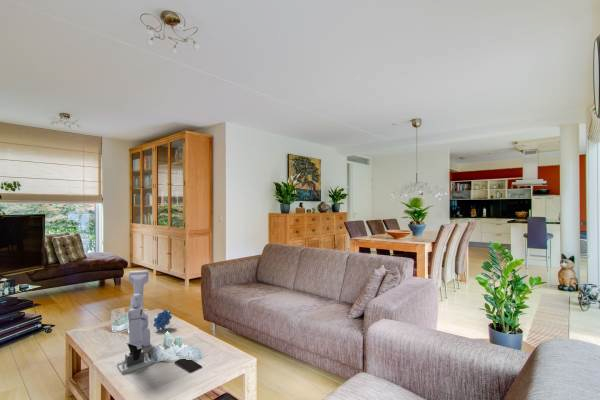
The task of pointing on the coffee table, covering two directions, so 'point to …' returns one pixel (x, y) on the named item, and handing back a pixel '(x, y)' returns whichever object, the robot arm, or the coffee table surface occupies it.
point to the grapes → (162, 319)
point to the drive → (130, 360)
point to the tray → (125, 369)
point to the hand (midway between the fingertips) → (135, 358)
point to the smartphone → (188, 365)
